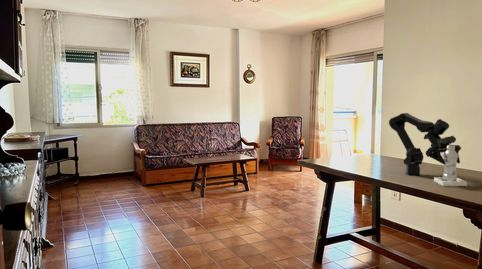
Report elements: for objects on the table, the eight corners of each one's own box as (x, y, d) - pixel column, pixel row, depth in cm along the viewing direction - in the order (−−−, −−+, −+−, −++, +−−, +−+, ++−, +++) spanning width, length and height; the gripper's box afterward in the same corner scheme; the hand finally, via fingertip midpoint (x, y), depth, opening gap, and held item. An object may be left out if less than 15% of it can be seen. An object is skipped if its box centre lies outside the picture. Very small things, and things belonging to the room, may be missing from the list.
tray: (442, 186, 179) (442, 181, 178) (433, 181, 189) (434, 177, 189) (466, 186, 177) (467, 181, 177) (456, 181, 188) (456, 177, 187)
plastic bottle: (447, 180, 188) (448, 144, 186) (459, 183, 181) (461, 145, 180) (439, 182, 185) (440, 144, 183) (451, 184, 179) (452, 146, 177)
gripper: (430, 131, 182) (447, 155, 173) (458, 130, 187) (476, 153, 177) (418, 144, 191) (434, 168, 181) (446, 143, 195) (462, 165, 186)
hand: (452, 163), depth 181 cm, fingers open, 9 cm apart
